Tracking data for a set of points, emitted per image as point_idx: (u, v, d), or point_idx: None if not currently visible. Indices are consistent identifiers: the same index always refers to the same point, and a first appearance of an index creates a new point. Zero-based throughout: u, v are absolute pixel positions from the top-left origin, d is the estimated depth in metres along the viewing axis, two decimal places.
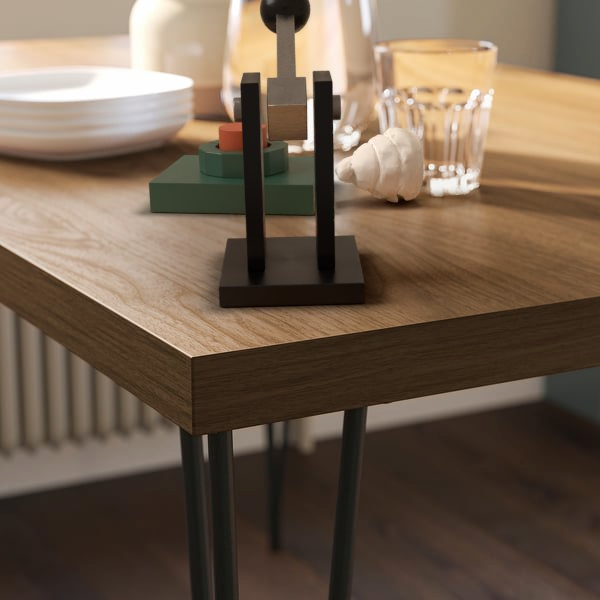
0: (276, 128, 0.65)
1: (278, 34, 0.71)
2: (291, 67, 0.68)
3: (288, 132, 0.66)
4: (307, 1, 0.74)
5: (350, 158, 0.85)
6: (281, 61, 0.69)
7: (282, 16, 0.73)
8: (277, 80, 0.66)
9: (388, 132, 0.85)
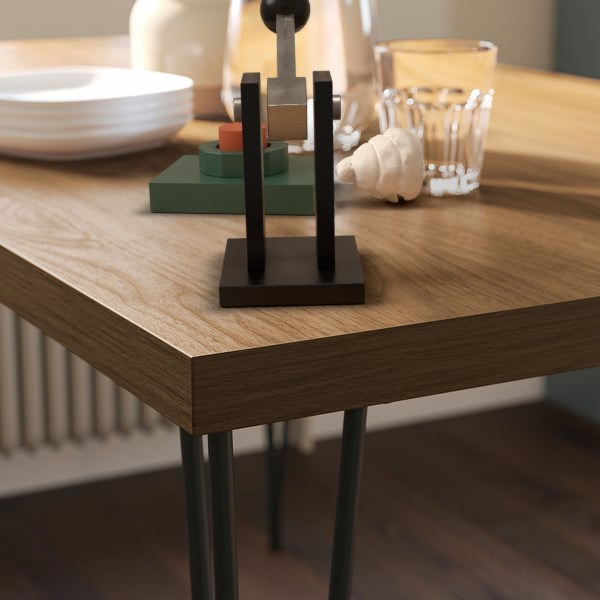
0: (276, 128, 0.65)
1: (278, 34, 0.71)
2: (291, 67, 0.68)
3: (288, 132, 0.66)
4: (307, 1, 0.74)
5: (350, 158, 0.85)
6: (281, 61, 0.69)
7: (282, 16, 0.73)
8: (277, 80, 0.66)
9: (388, 132, 0.85)
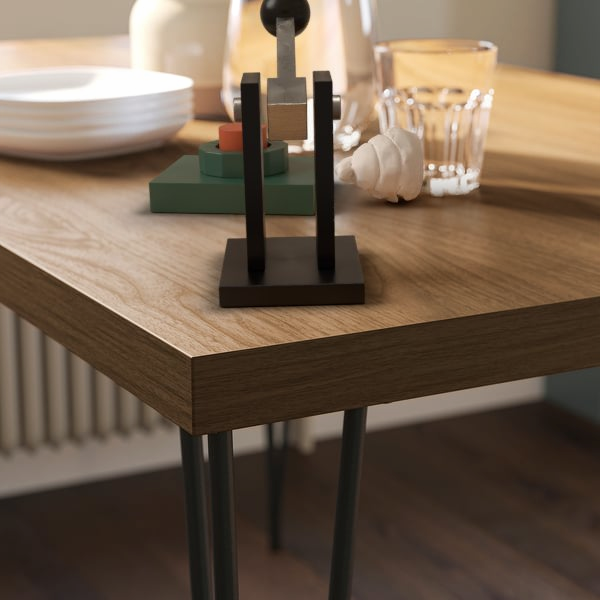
0: (276, 128, 0.65)
1: (278, 36, 0.71)
2: (291, 68, 0.68)
3: (288, 132, 0.66)
4: (307, 4, 0.74)
5: (350, 158, 0.85)
6: (282, 63, 0.69)
7: (282, 19, 0.73)
8: (277, 80, 0.66)
9: (388, 132, 0.85)
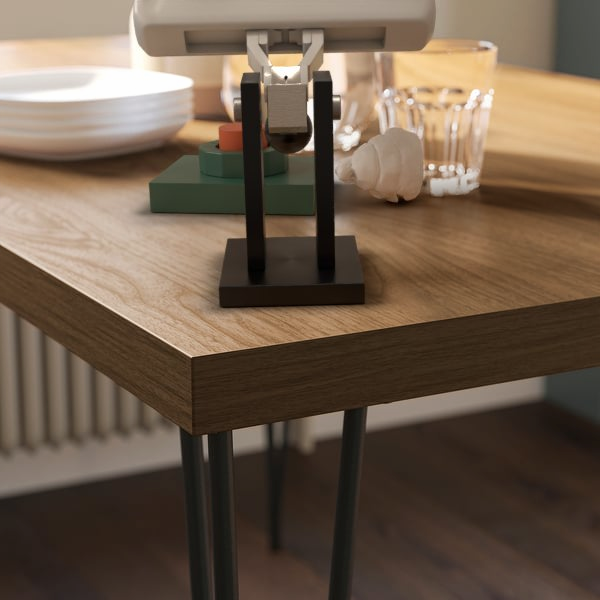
0: (276, 112, 0.65)
1: None
2: None
3: (288, 117, 0.65)
4: (309, 118, 0.77)
5: (350, 158, 0.85)
6: None
7: None
8: None
9: (388, 132, 0.85)
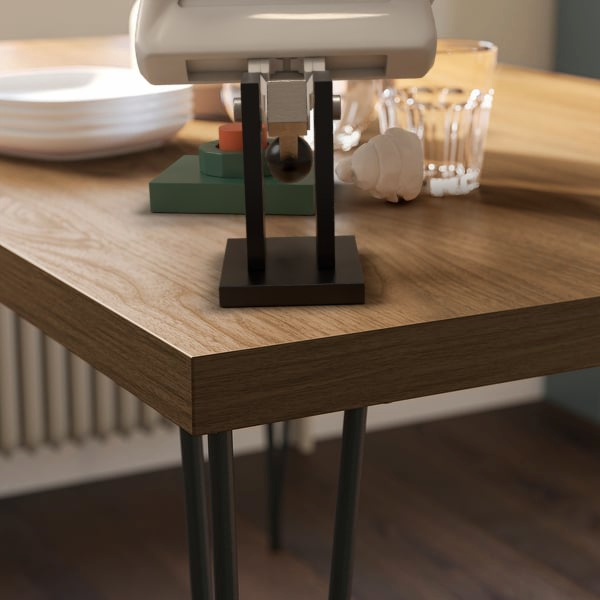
0: (276, 107, 0.65)
1: None
2: None
3: (287, 112, 0.65)
4: (310, 147, 0.77)
5: (350, 158, 0.85)
6: None
7: None
8: None
9: (388, 132, 0.85)
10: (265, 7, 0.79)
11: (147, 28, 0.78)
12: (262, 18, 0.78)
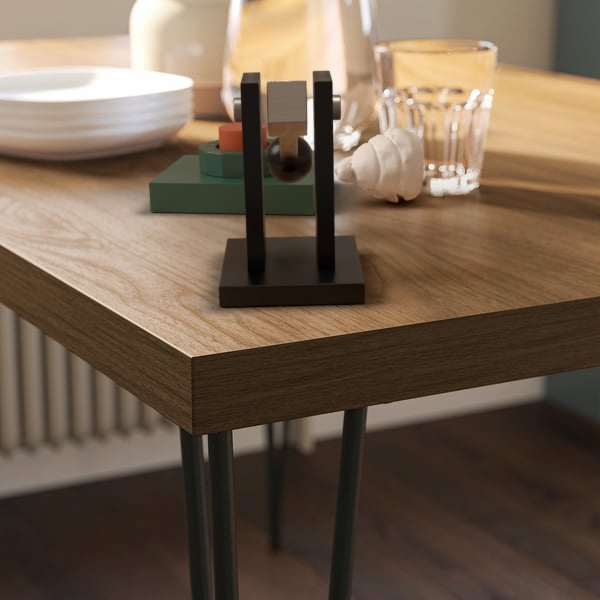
0: (276, 107, 0.65)
1: None
2: None
3: (287, 112, 0.65)
4: (310, 147, 0.77)
5: (350, 158, 0.85)
6: None
7: None
8: None
9: (388, 132, 0.85)
10: None
11: None
12: None
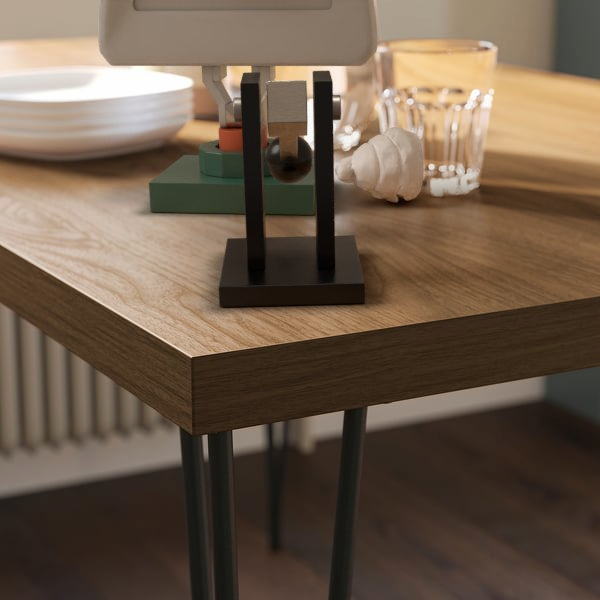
0: (276, 107, 0.65)
1: None
2: None
3: (287, 112, 0.65)
4: (310, 147, 0.77)
5: (350, 158, 0.85)
6: None
7: None
8: None
9: (388, 132, 0.85)
10: (213, 14, 0.83)
11: (107, 38, 0.85)
12: (210, 27, 0.84)
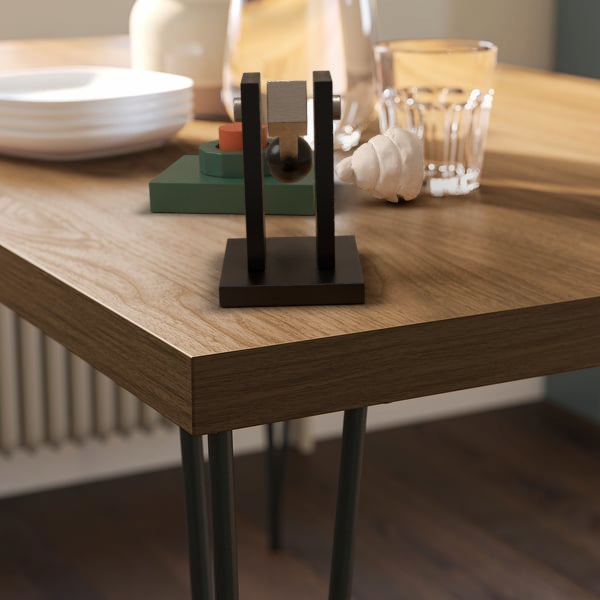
0: (276, 107, 0.65)
1: None
2: None
3: (287, 112, 0.65)
4: (310, 147, 0.77)
5: (350, 158, 0.85)
6: None
7: None
8: None
9: (388, 132, 0.85)
10: None
11: None
12: None
